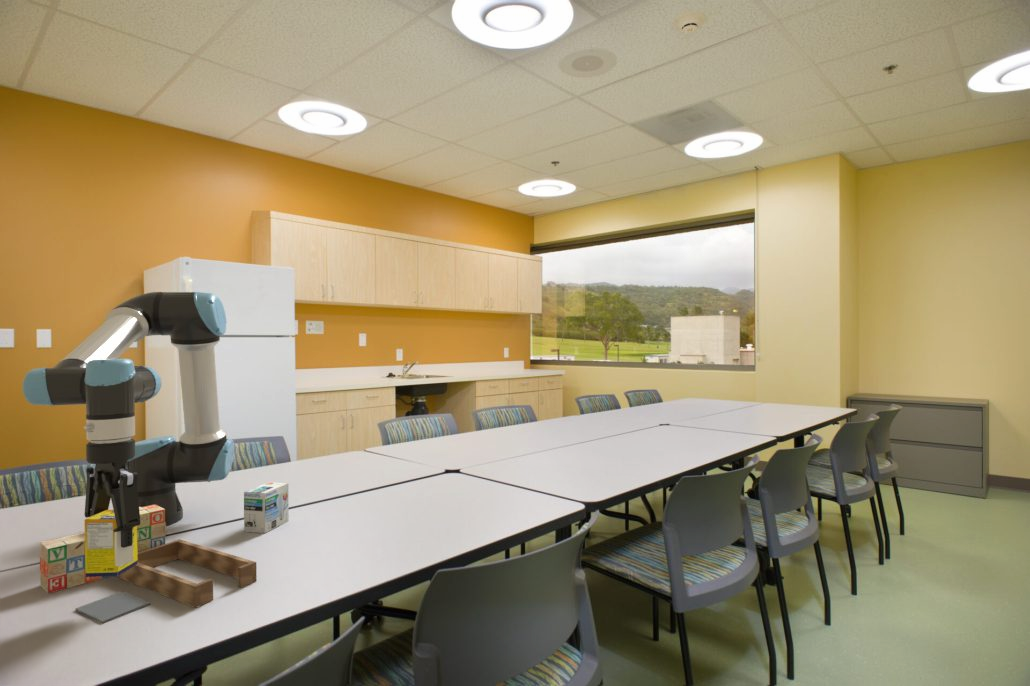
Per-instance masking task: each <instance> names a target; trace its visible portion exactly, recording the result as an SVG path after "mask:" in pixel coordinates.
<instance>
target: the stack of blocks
mask: <svg viewBox="0 0 1030 686" xmlns="http://www.w3.org/2000/svg"><path fill="white" fill-rule="evenodd" d="M139 512H140V525H138V526H137V553H138V552H141V551H144V550H148V549H151V548H154V547H157V546H160V545H163V544H166V534H167V532H166V530H167V527H166V526H167V525H166V522H165V509H164V508H162V507H160V506H158V505H150V506H145V507H139ZM39 570H40V571H39V576H40V577H39V578H40V584H39V585H40V586H41V587H42V588H43V590H44V592H46V594H51V593H54V592H57V591H60V590H65V589H69V588H73V587H76V586H79V585H80V586H81V585H82V584H83V585H84V584H87V583H90V582H91V583H92V582H94V581H98V580H101V579H104V578H105V579H106V578H108V577H110V576H99V577H86V571H85V531H84V532H80V533H77V534H72V535H66V536H63V537H62V536H61V537H58V538H54V539H48V540H43V541H40V543H39Z"/></svg>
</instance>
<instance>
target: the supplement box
mask: <svg viewBox="0 0 1030 686" xmlns="http://www.w3.org/2000/svg"><path fill="white" fill-rule="evenodd" d="M116 528H117V523H116V519H115V514H114V509H108V510H105V511H103V512H100V513H98V514H96V515H93V516H91V517H87V518H86V517H85V519H84V532H85V571H86V577H99V576H109V577H118V575H120V574H122V573H123V572H125V571H127V570H128V569H130V568H131V567H133V566H135V565H136V564H137V563H138V557H137V526H135V527H133V561H132V562H129V563H126V564H123V565H120V566H115V532H114V531H113V530H114V529H116Z"/></svg>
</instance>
